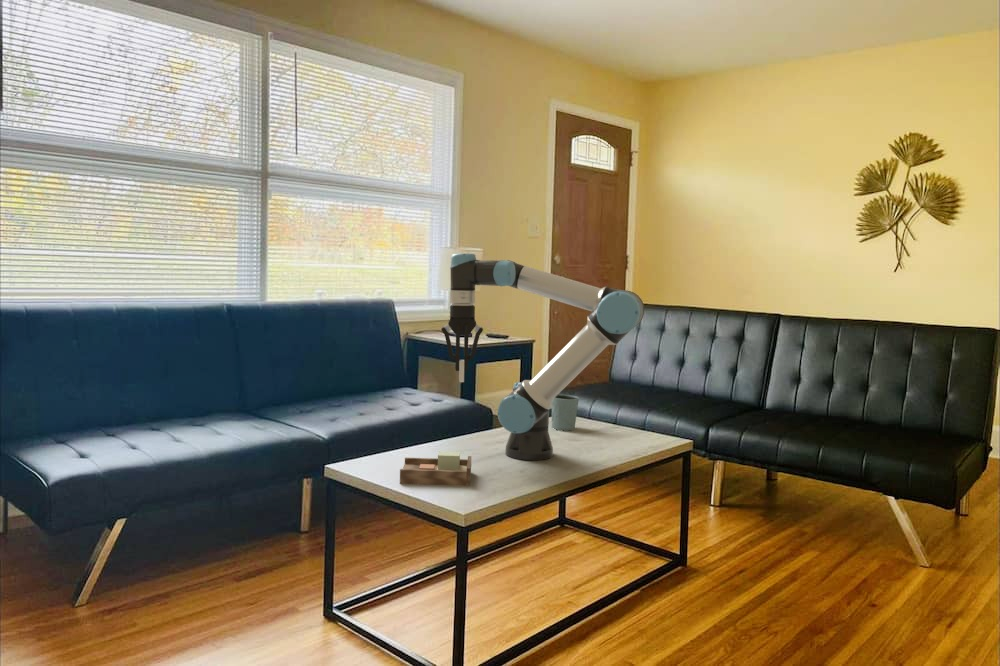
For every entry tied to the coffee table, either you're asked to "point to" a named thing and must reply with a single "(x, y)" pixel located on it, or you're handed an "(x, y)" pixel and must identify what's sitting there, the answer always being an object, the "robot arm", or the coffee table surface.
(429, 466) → the rust block
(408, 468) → the wooden tray
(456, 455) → the sage block
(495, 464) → the coffee table surface
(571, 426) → the grey-blue cup
